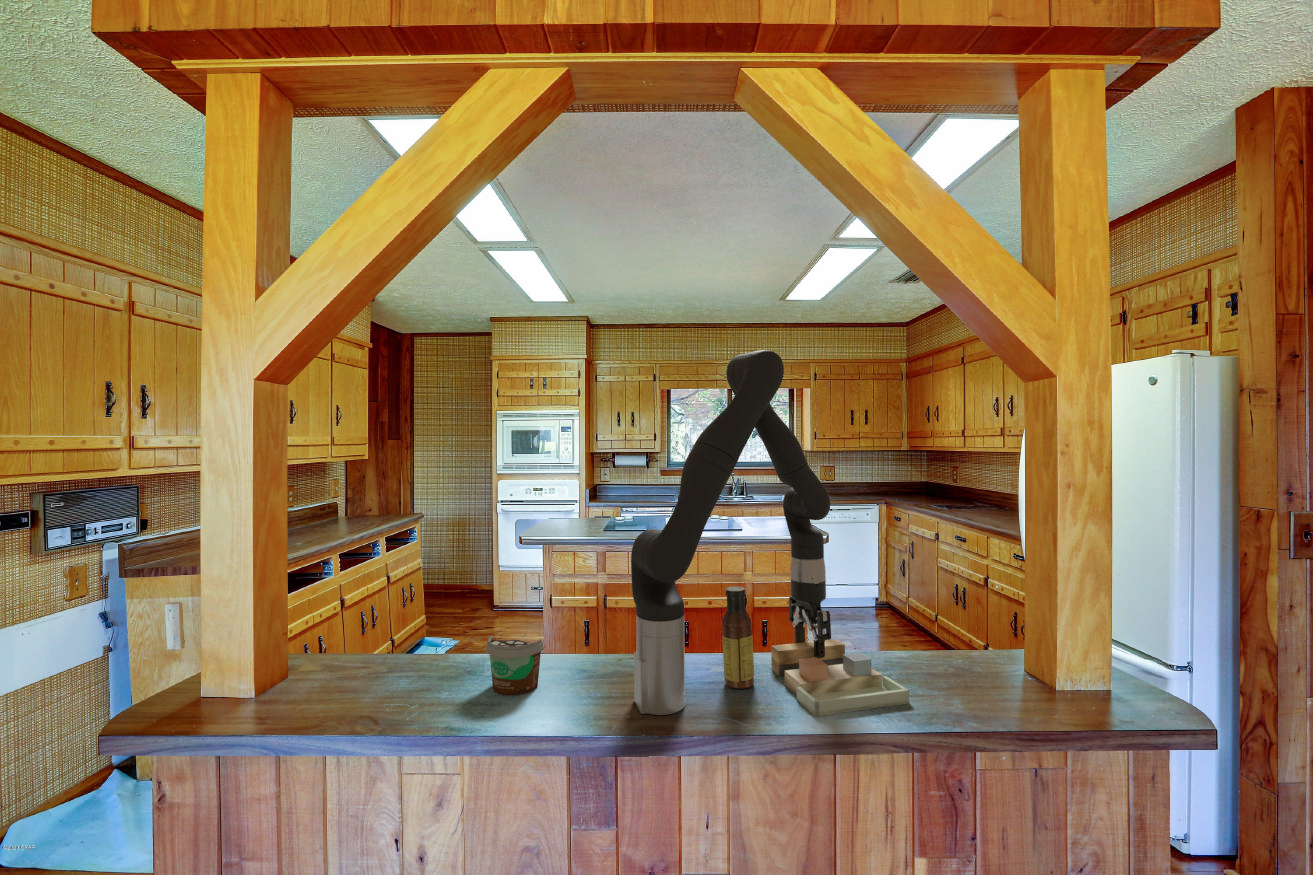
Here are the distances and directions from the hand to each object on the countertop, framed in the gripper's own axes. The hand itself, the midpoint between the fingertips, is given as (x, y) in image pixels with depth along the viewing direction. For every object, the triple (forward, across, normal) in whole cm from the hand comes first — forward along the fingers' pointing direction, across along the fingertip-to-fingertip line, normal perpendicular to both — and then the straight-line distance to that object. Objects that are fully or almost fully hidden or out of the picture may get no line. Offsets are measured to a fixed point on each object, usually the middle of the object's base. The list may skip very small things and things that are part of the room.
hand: (809, 650), depth 129 cm
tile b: (+1, +11, +5) cm, 12 cm away
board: (+4, +10, 0) cm, 11 cm away
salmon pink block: (+1, +11, -5) cm, 12 cm away
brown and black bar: (+4, 0, 0) cm, 4 cm away
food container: (+3, -5, -64) cm, 65 cm away
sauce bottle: (+4, +4, -18) cm, 19 cm away
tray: (+4, +17, 0) cm, 17 cm away
